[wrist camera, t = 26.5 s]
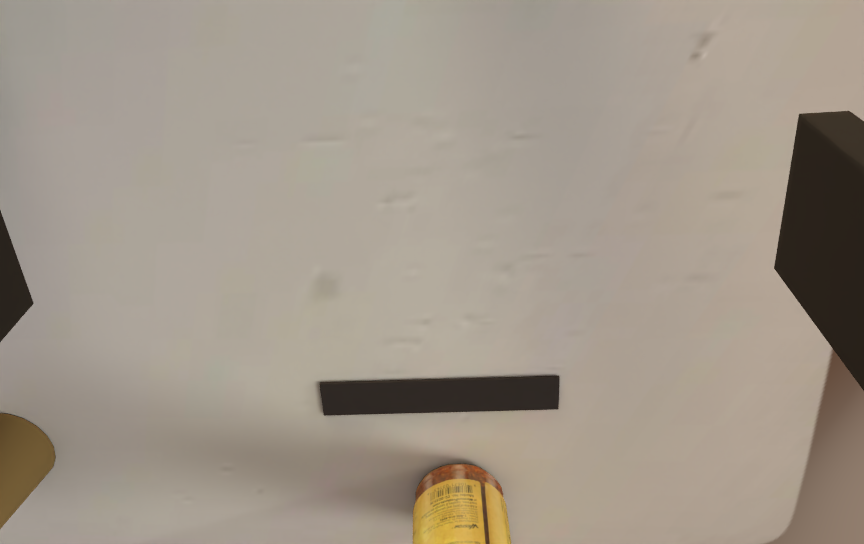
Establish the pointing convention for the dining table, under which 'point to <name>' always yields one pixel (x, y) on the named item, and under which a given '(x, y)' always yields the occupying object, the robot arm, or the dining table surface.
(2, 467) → the brown pawn
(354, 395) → the strip
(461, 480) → the sauce bottle
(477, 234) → the dining table surface
